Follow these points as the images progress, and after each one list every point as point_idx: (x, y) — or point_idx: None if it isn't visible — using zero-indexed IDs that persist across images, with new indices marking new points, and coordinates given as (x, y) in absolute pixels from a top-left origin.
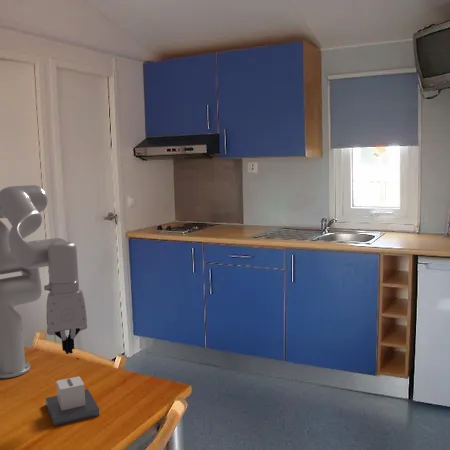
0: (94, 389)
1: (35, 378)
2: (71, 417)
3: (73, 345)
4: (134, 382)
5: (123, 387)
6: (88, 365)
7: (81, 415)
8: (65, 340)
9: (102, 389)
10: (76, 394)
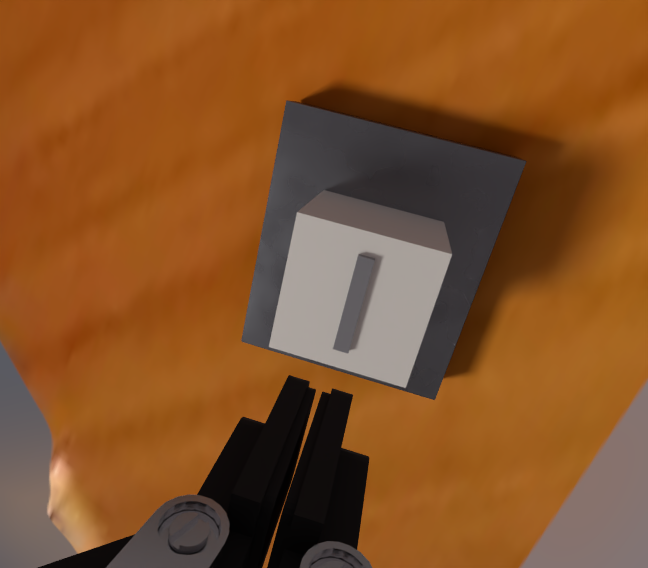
0: (207, 362)
1: None
2: (431, 136)
3: (238, 442)
4: (45, 297)
5: (99, 289)
6: None
7: (379, 123)
8: (317, 542)
9: (179, 337)
10: (356, 215)
